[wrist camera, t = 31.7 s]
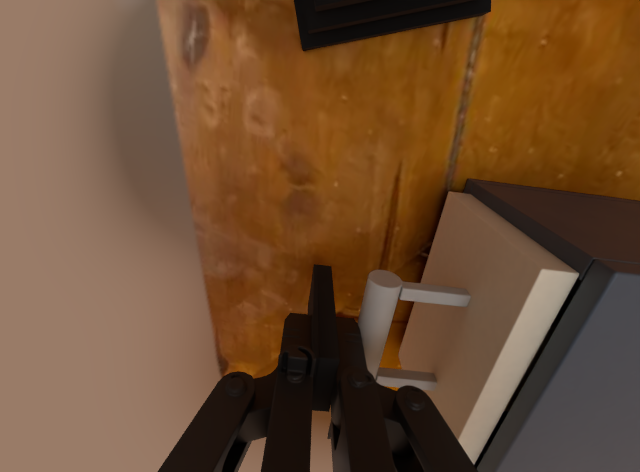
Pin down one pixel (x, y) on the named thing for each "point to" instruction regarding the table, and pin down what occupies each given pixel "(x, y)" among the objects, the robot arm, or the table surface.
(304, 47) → the chess piece
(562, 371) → the cabinet
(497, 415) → the drawer
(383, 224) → the table surface
